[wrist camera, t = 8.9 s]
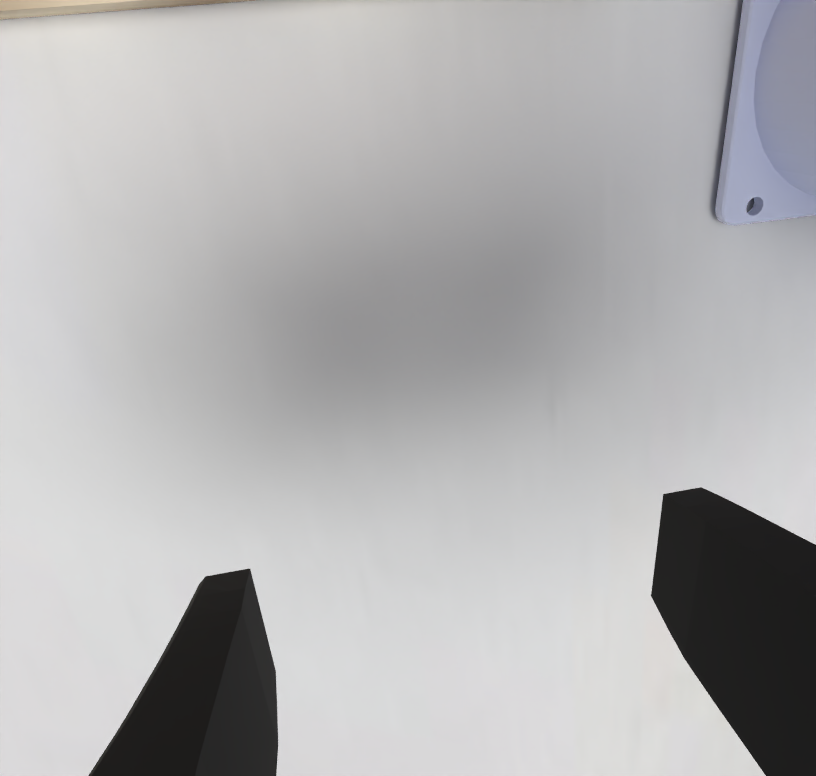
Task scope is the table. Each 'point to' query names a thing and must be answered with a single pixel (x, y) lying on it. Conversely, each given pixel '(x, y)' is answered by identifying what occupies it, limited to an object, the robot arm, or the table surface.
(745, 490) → the table surface
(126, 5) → the light wood rectangular frame
